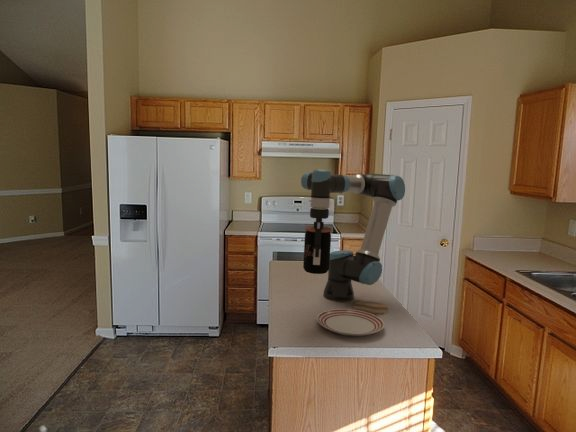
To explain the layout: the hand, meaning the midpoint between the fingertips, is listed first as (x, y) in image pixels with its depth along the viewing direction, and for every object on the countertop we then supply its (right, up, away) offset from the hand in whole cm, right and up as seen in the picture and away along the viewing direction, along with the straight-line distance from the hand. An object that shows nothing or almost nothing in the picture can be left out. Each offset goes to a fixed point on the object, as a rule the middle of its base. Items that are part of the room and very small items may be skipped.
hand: (316, 261), depth 165 cm
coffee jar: (0, -4, +1) cm, 4 cm away
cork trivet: (+27, -24, +22) cm, 42 cm away
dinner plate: (+13, -27, -1) cm, 30 cm away
